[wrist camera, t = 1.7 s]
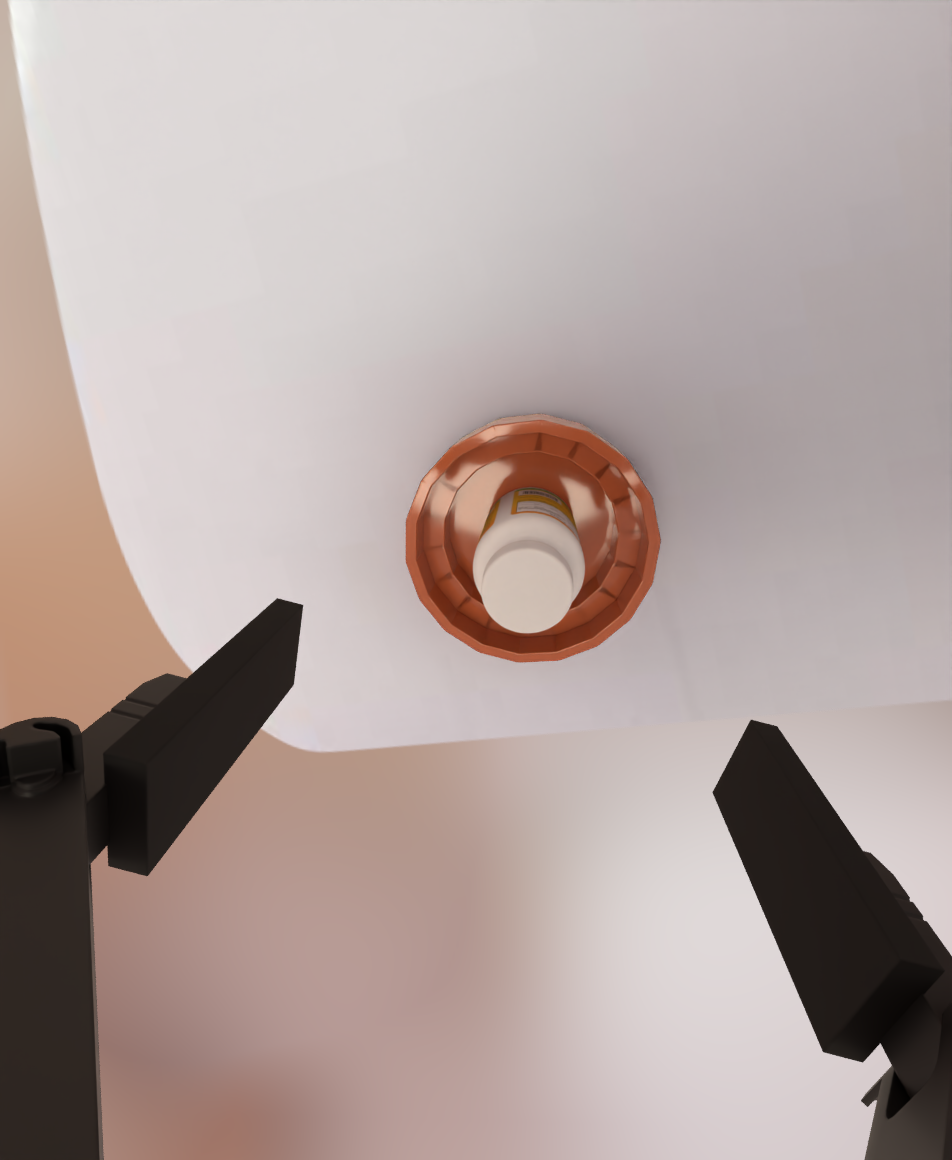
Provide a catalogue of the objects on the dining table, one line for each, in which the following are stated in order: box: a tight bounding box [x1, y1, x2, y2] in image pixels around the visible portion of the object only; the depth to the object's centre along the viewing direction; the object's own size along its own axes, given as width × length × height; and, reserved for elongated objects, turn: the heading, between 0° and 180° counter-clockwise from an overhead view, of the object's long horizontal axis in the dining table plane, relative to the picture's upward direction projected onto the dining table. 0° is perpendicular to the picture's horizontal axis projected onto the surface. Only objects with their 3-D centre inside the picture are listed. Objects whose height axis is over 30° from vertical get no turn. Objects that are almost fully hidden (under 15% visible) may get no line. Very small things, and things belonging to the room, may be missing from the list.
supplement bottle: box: [473, 487, 585, 633], centre depth 27 cm, size 5×5×10 cm
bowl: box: [406, 414, 661, 662], centre depth 30 cm, size 13×13×4 cm
